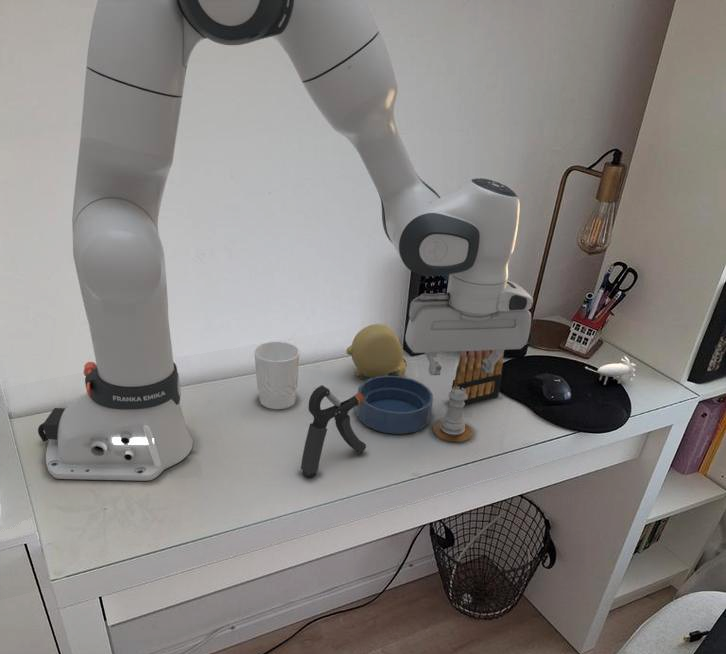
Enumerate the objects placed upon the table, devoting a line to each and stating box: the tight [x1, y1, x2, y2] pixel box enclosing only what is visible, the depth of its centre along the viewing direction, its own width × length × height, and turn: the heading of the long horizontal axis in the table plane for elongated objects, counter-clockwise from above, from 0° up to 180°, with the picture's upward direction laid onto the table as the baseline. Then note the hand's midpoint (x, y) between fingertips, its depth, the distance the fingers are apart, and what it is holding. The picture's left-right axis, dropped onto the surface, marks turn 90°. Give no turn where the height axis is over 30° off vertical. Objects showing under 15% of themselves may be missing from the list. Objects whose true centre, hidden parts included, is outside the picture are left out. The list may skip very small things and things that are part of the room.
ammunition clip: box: [448, 350, 504, 407], centre depth 128 cm, size 11×2×12 cm, turn 120°
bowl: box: [356, 376, 434, 435], centre depth 124 cm, size 13×13×4 cm
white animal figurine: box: [584, 355, 638, 386], centre depth 139 cm, size 12×5×5 cm, turn 106°
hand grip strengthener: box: [300, 384, 367, 479], centre depth 107 cm, size 2×13×15 cm, turn 131°
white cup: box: [253, 341, 300, 410], centre depth 123 cm, size 8×8×10 cm
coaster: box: [432, 420, 473, 444], centre depth 122 cm, size 7×7×1 cm
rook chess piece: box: [440, 387, 468, 436], centre depth 119 cm, size 4×4×8 cm
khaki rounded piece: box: [346, 323, 408, 379], centre depth 134 cm, size 10×12×11 cm
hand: (460, 372), depth 114 cm, fingers open, 8 cm apart
